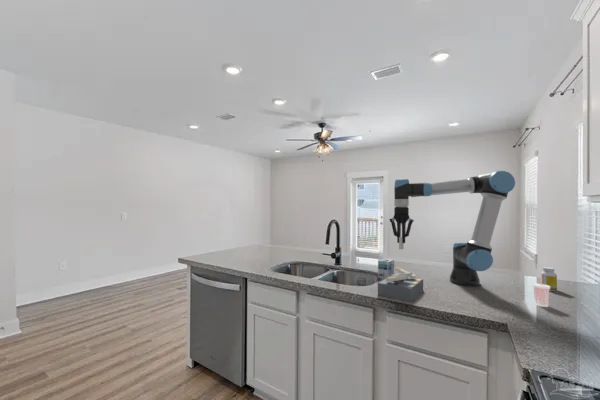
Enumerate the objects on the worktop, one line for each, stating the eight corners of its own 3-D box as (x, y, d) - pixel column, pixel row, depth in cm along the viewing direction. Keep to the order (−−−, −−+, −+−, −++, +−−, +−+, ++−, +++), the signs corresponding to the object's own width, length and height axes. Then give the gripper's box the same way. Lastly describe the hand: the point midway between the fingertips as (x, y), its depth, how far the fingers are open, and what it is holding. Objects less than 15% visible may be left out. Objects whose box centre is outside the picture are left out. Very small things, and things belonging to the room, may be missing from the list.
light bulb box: (388, 280, 168) (388, 262, 168) (377, 278, 172) (377, 260, 172) (394, 276, 177) (394, 259, 177) (384, 274, 181) (384, 258, 181)
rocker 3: (415, 277, 149) (416, 274, 148) (413, 279, 146) (414, 276, 145) (397, 269, 154) (397, 266, 154) (394, 270, 152) (395, 267, 151)
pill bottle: (560, 291, 148) (560, 269, 149) (547, 291, 149) (547, 269, 149) (549, 287, 155) (549, 266, 155) (537, 287, 155) (537, 266, 155)
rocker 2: (412, 274, 143) (411, 271, 143) (410, 276, 140) (409, 273, 140) (393, 277, 149) (392, 274, 149) (391, 278, 146) (390, 275, 146)
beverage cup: (538, 307, 125) (538, 275, 125) (529, 302, 131) (529, 272, 131) (554, 308, 124) (553, 276, 125) (544, 303, 130) (544, 272, 131)
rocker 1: (408, 277, 137) (407, 274, 137) (405, 279, 134) (404, 275, 135) (388, 280, 143) (387, 277, 143) (386, 281, 140) (385, 278, 140)
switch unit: (423, 290, 148) (423, 276, 148) (411, 301, 131) (411, 286, 131) (392, 285, 158) (393, 272, 158) (377, 294, 140) (377, 280, 140)
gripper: (387, 206, 158) (387, 248, 158) (411, 206, 150) (411, 251, 150) (392, 206, 164) (391, 247, 164) (415, 206, 156) (415, 249, 156)
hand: (401, 248), depth 157 cm, fingers closed
